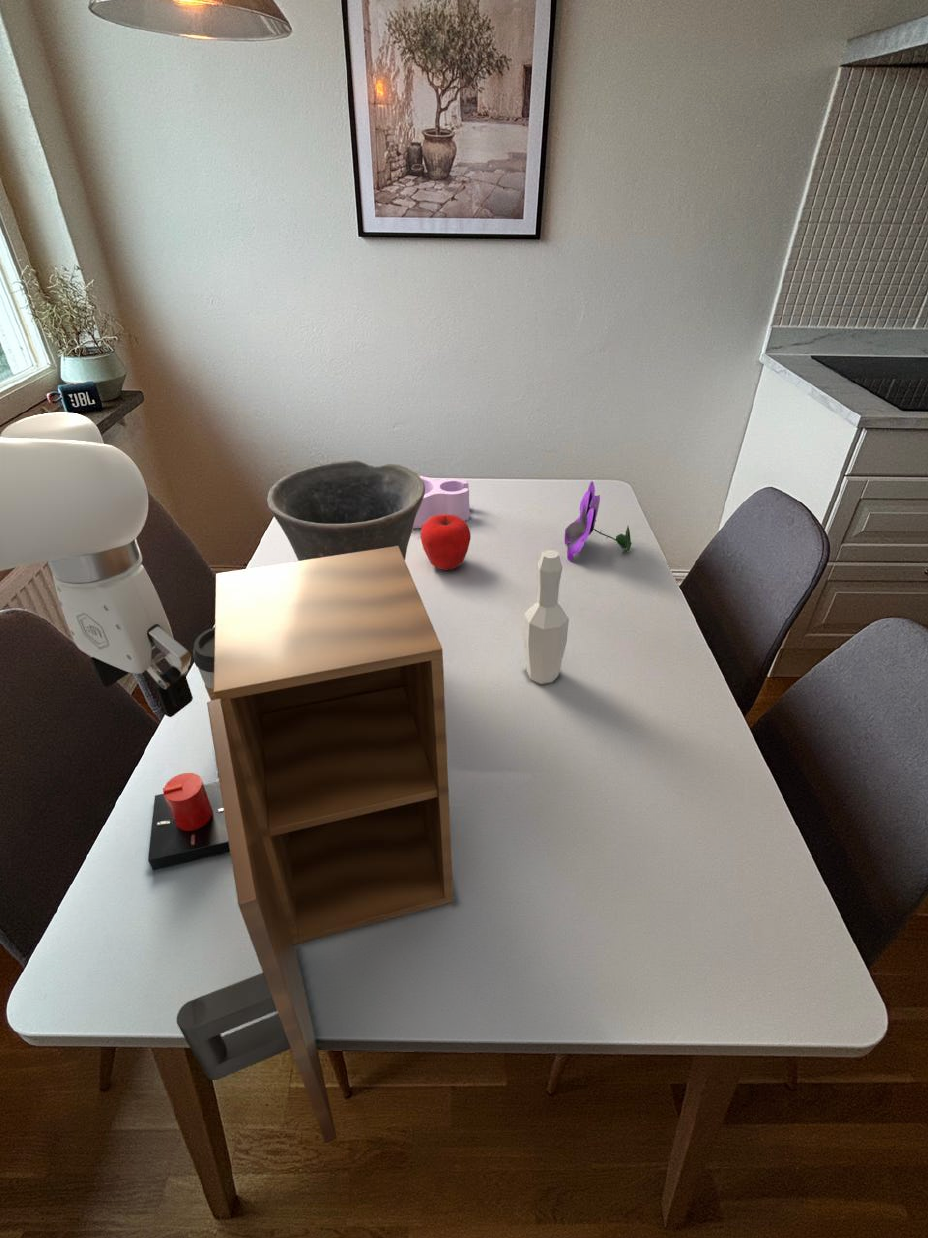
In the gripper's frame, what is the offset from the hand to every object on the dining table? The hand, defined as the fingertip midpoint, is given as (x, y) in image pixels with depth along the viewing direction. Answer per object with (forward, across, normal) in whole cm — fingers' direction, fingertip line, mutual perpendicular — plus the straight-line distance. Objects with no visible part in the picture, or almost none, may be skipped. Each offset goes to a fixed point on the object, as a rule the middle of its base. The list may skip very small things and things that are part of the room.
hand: (147, 693), depth 72 cm
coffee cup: (+22, -8, +17) cm, 29 cm away
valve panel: (+22, 0, 0) cm, 22 cm away
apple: (+22, -4, +69) cm, 73 cm away
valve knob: (+20, 0, 0) cm, 20 cm away
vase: (+22, -1, +38) cm, 44 cm away
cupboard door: (+22, +26, -15) cm, 37 cm away
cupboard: (+22, +20, +6) cm, 31 cm away
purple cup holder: (+22, -20, +86) cm, 91 cm away
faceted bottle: (+22, +26, +47) cm, 59 cm away
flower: (+22, +21, +88) cm, 93 cm away
